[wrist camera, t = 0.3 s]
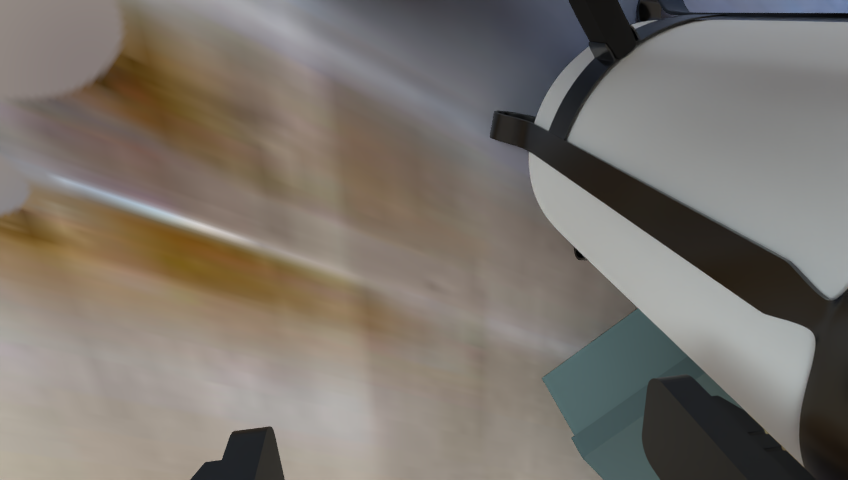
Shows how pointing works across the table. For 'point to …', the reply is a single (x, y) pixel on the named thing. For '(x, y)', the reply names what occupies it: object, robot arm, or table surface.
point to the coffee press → (714, 197)
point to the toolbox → (619, 394)
